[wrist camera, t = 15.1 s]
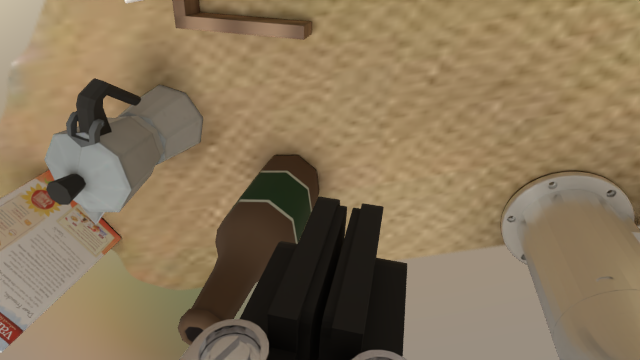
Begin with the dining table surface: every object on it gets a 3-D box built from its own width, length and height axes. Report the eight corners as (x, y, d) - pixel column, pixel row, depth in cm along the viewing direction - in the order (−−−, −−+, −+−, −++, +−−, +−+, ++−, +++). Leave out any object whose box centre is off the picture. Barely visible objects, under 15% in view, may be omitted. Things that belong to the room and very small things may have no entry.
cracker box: (33, 183, 60) (-132, 280, 42) (54, 166, 57) (-113, 261, 39) (101, 251, 64) (-23, 366, 46) (123, 238, 61) (0, 354, 43)
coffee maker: (200, 174, 52) (107, 265, 37) (137, 152, 53) (21, 234, 37) (211, 62, 44) (100, 119, 29) (138, 38, 45) (-9, 82, 30)
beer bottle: (329, 164, 47) (257, 324, 27) (312, 215, 51) (239, 387, 31) (267, 142, 48) (150, 283, 27) (255, 194, 52) (146, 350, 31)
